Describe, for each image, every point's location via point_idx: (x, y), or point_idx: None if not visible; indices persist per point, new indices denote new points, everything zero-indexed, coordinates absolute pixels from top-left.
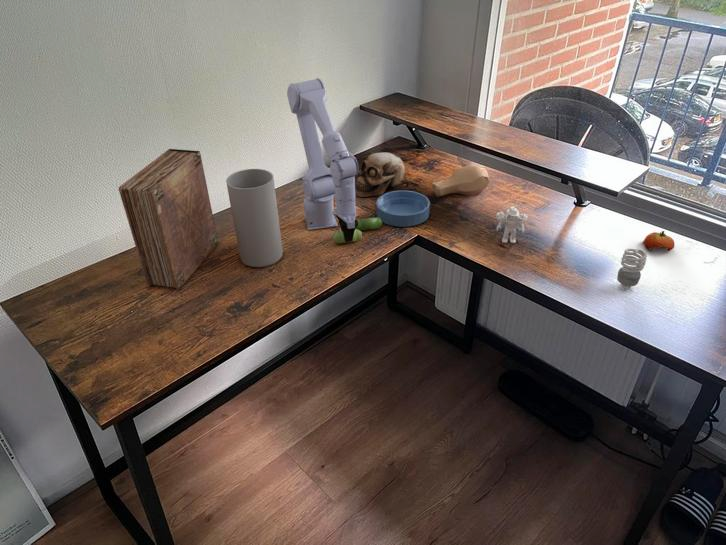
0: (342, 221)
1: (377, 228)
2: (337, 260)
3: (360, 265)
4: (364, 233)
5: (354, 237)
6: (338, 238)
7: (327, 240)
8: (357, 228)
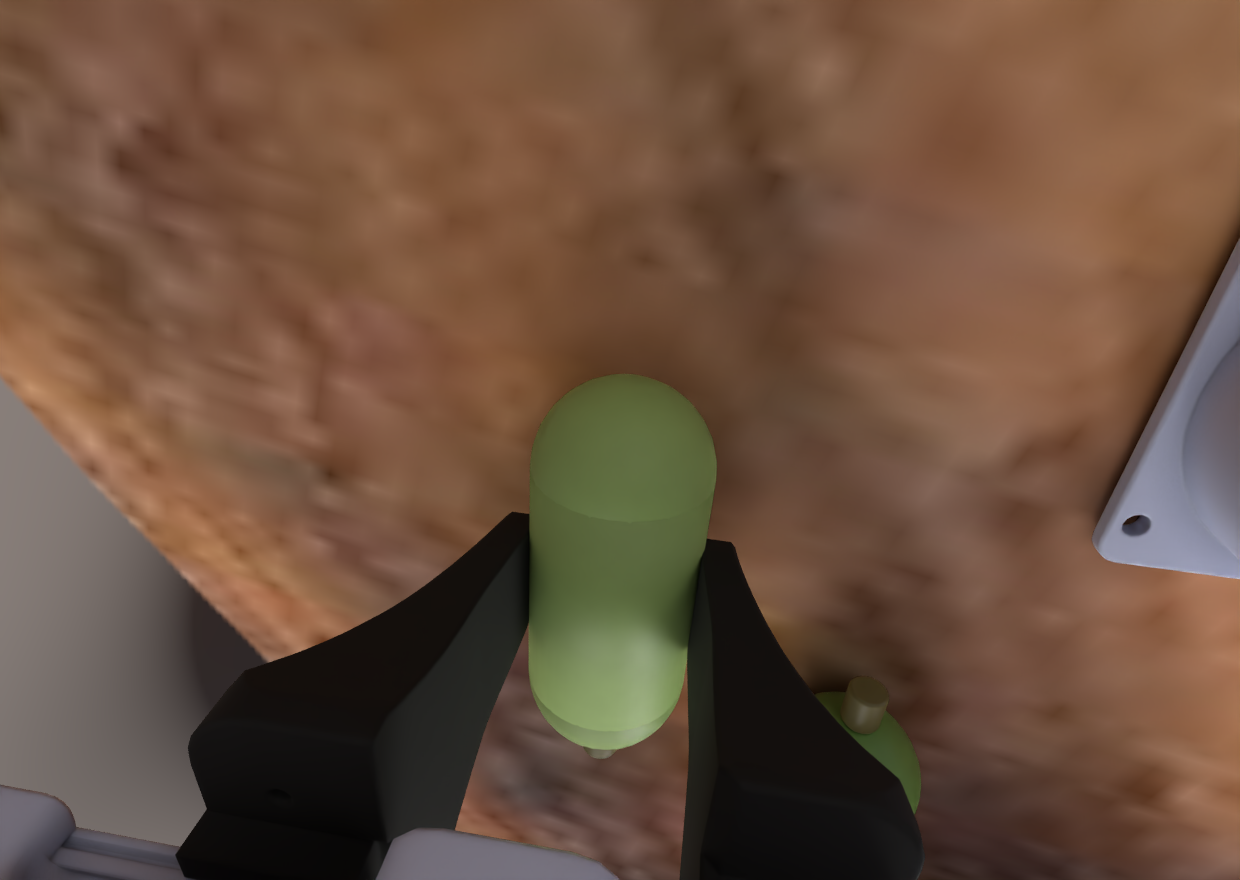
0: (345, 803)
1: None
2: (238, 280)
3: (130, 481)
4: (588, 749)
5: (530, 639)
6: (530, 463)
7: (787, 300)
8: None
